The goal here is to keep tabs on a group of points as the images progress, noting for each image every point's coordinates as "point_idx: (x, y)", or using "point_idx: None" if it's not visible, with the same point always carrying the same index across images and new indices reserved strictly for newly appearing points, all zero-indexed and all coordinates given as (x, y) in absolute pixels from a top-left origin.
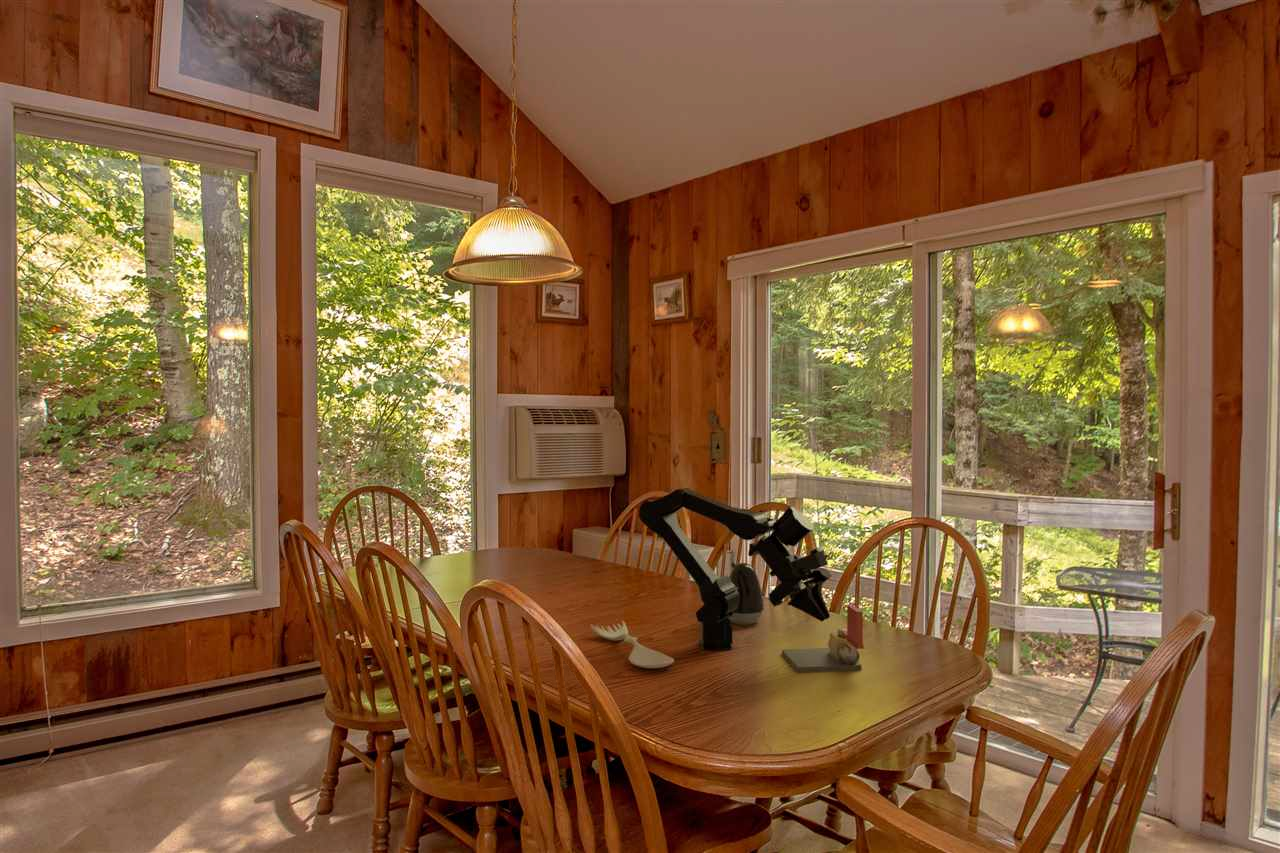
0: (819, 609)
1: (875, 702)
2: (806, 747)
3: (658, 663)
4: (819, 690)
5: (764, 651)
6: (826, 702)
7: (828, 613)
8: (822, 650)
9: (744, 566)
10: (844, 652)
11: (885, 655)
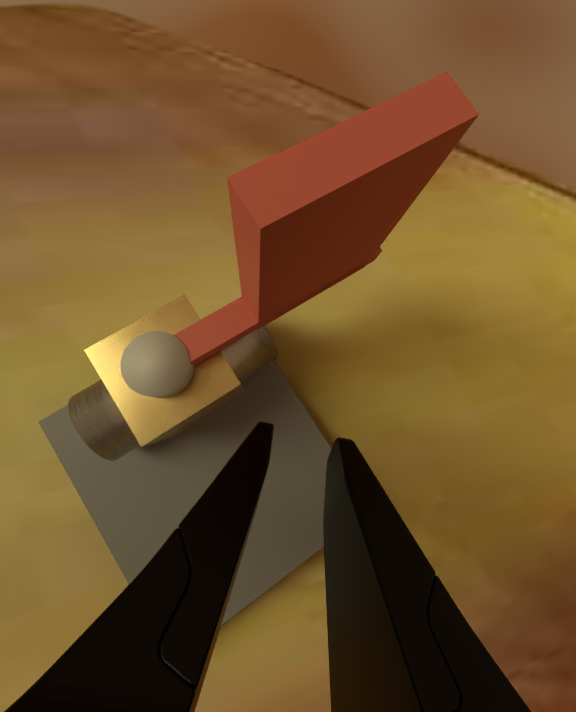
0: (381, 507)
1: (491, 233)
2: None
3: None
4: (488, 390)
5: None
6: (562, 349)
7: (261, 435)
8: (114, 483)
9: None
10: (274, 349)
11: (34, 260)
